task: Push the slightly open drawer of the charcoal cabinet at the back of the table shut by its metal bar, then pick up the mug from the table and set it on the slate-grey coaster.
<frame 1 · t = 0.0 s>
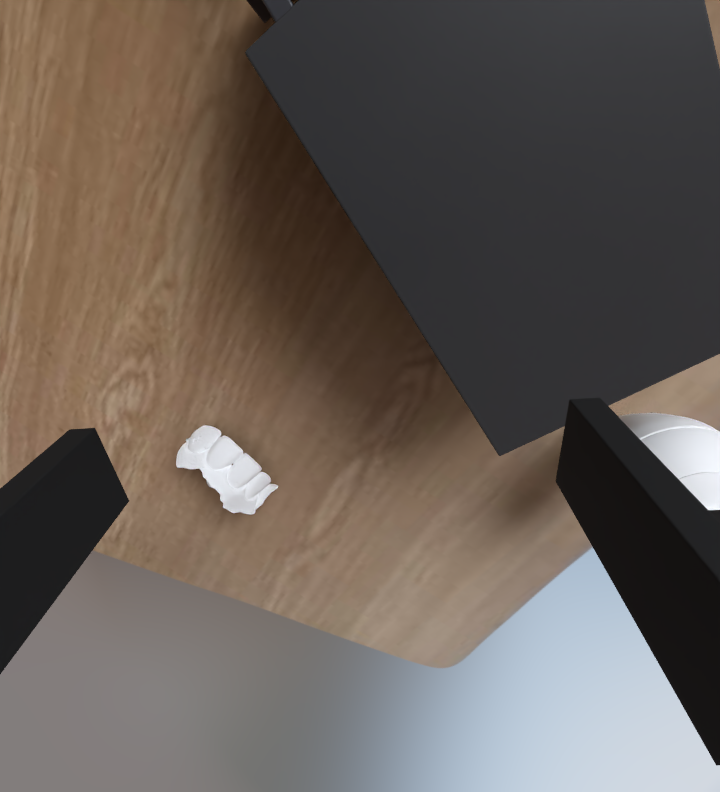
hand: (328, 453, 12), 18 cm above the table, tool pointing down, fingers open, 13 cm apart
white rounded knobbed vessel: (605, 413, 32), on the table
cabinet: (483, 191, 25), on the table
drawer: (432, 36, 17), point 5 cm above the table, slide at 3.0 cm
tissue: (233, 459, 35), on the table
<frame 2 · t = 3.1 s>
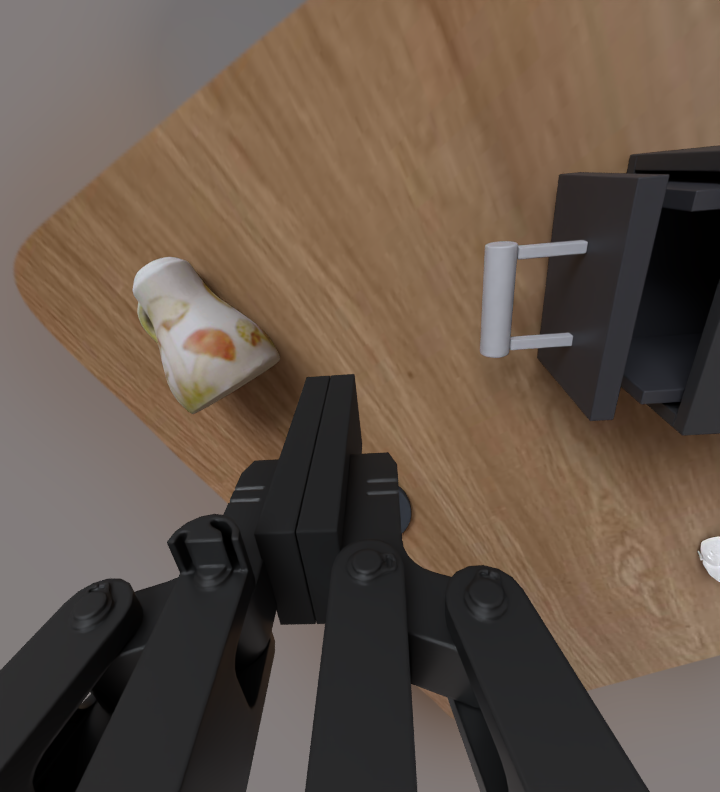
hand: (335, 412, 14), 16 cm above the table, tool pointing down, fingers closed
mug: (212, 320, 30), on the table
coaster: (366, 509, 38), on the table
drawer: (704, 282, 22), point 5 cm above the table, slide at 3.0 cm
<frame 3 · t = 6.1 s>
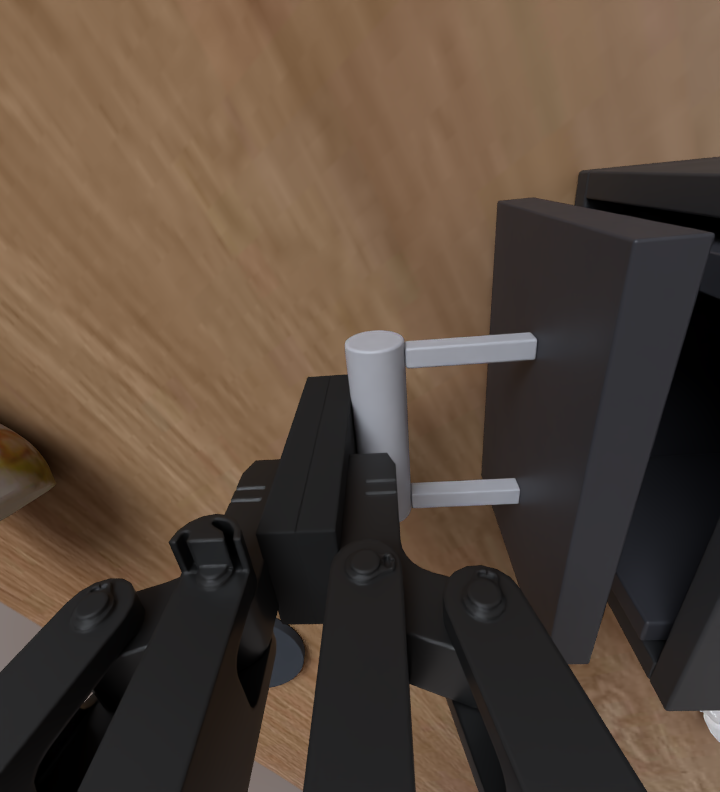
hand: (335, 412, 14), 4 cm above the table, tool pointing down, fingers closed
coaster: (244, 646, 28), on the table
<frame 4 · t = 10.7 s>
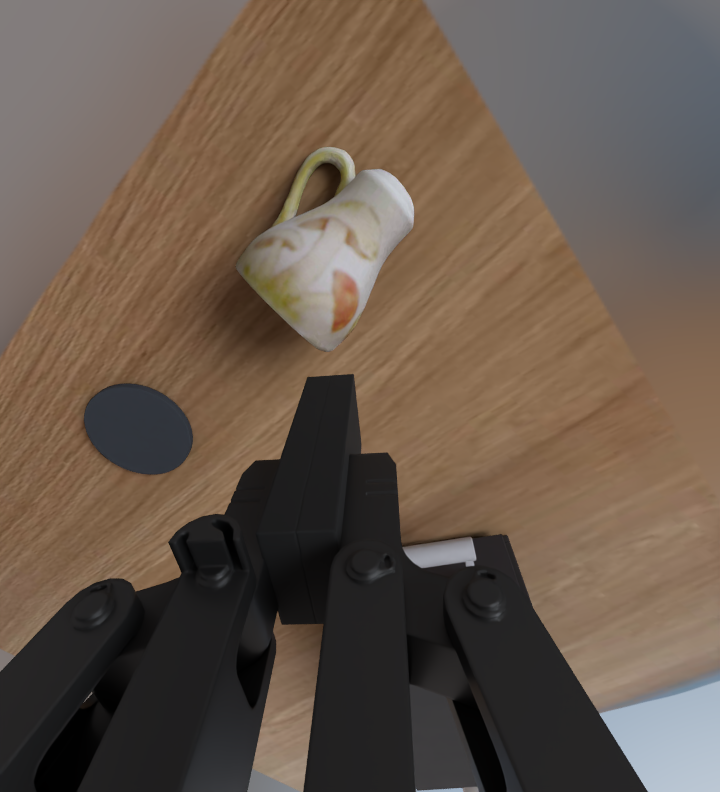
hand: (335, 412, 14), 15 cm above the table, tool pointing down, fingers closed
mug: (335, 241, 26), on the table
coaster: (141, 429, 33), on the table
cabinet: (452, 613, 42), on the table
drawer: (453, 637, 35), point 5 cm above the table, slide at 0.0 cm, touching cabinet
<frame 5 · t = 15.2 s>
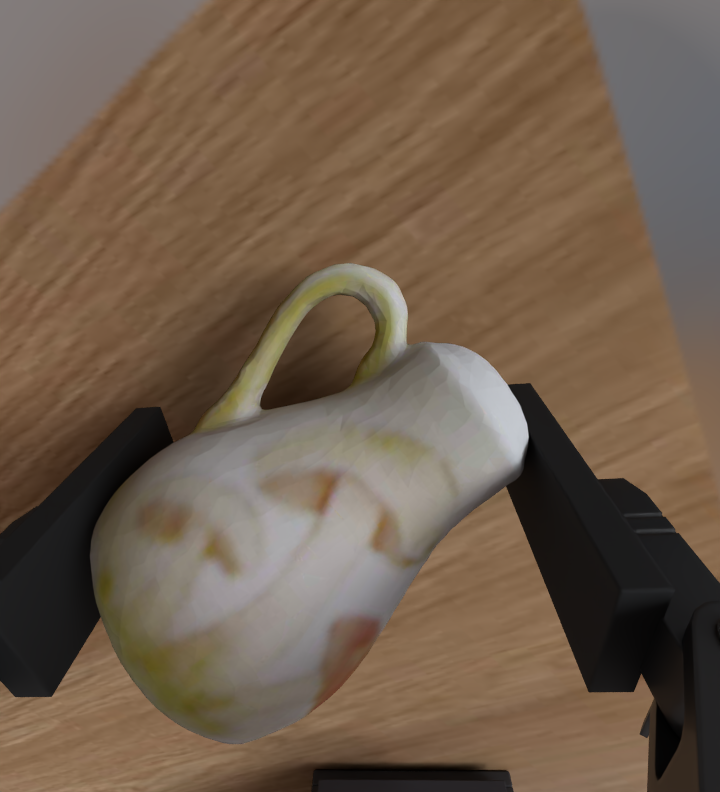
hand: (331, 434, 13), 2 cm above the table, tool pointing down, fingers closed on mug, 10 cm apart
mug: (337, 422, 13), point 2 cm above the table, touching gripper
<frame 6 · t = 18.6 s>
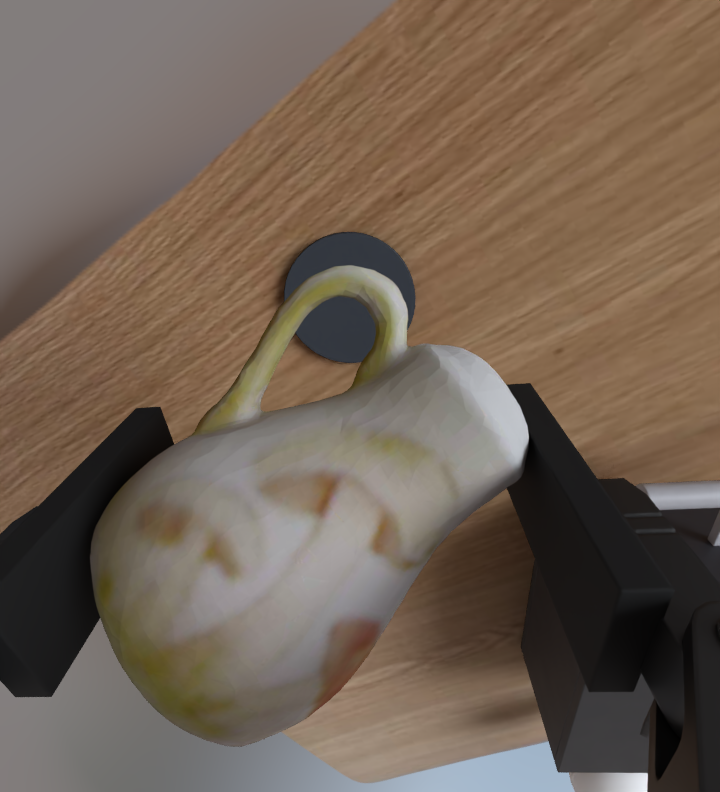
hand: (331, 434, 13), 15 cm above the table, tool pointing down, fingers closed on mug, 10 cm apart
mug: (337, 424, 13), point 15 cm above the table, touching gripper
white rounded knobbed vessel: (579, 691, 47), on the table
coaster: (349, 300, 26), on the table
cabinet: (602, 581, 37), on the table
drawer: (645, 602, 31), point 5 cm above the table, slide at 0.0 cm, touching cabinet
when the fingers open (1 cm above the table, at t = 22.2 s): mug stays where it is, resting on coaster.
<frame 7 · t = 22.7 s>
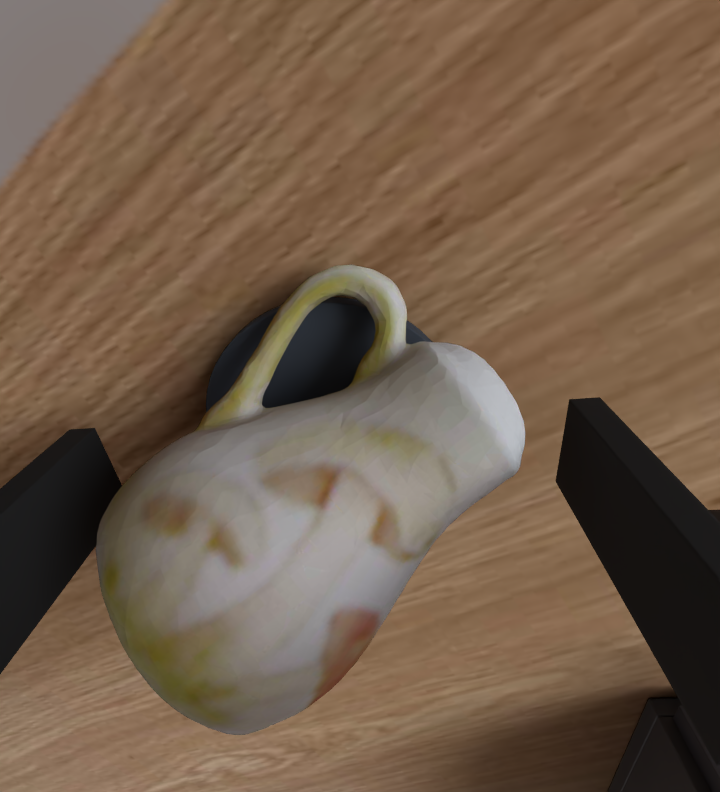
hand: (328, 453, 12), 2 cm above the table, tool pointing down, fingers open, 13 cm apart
mug: (338, 421, 13), resting on coaster
coaster: (334, 417, 14), on the table
cabinet: (719, 784, 25), on the table
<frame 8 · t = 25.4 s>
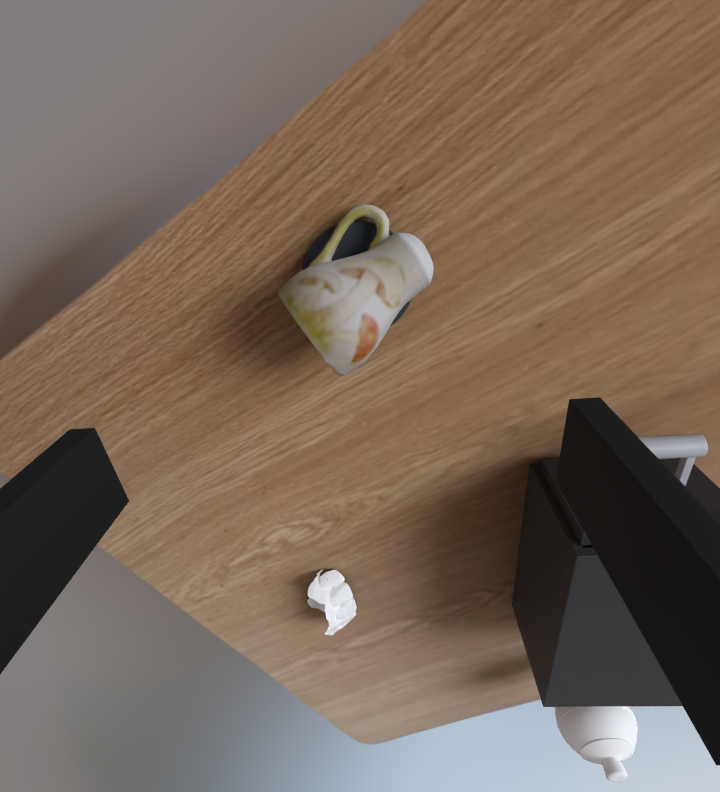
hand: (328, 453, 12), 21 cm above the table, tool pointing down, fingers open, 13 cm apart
mug: (360, 280, 30), resting on coaster
white rounded knobbed vessel: (567, 649, 50), on the table
coaster: (358, 280, 30), on the table
cabinet: (584, 539, 41), on the table
drawer: (619, 550, 35), point 5 cm above the table, slide at 0.0 cm, touching cabinet
tissue: (333, 590, 47), on the table
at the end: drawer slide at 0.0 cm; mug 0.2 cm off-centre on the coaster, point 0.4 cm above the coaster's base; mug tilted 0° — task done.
